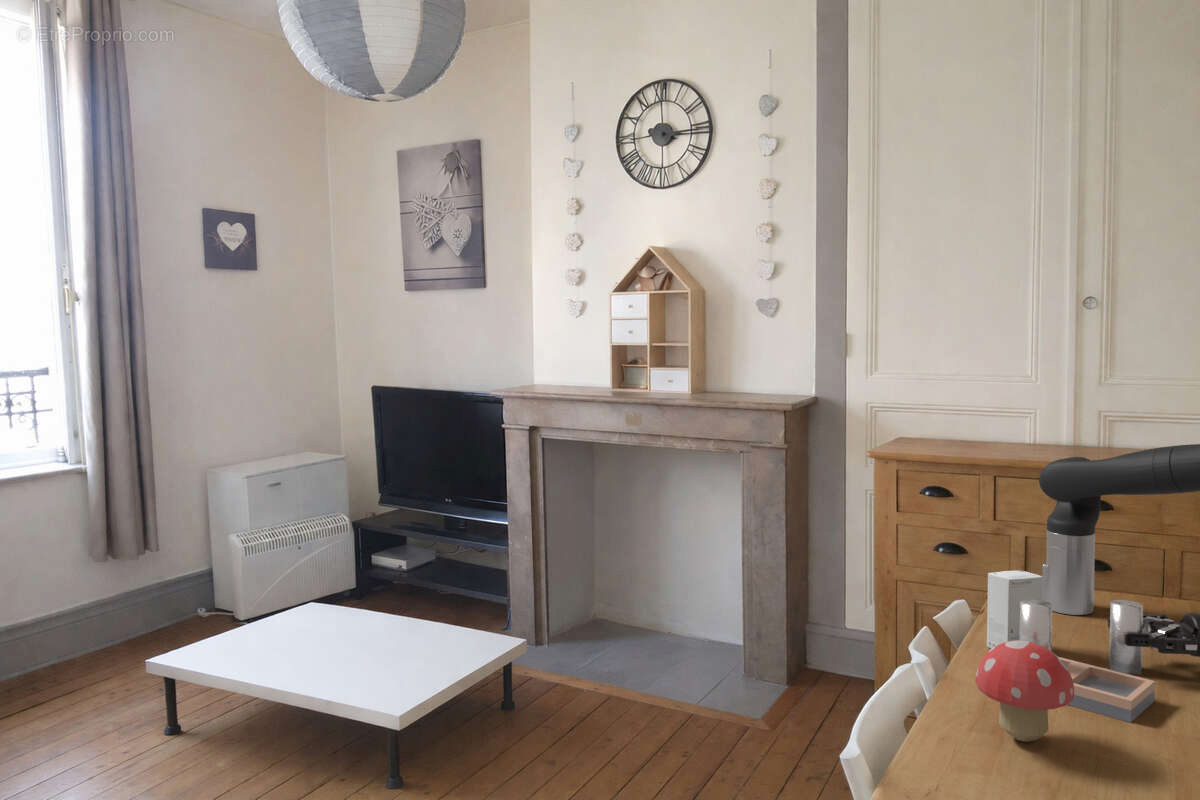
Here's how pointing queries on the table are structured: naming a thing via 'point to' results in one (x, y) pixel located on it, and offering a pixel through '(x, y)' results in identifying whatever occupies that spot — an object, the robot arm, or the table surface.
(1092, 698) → the pink rectangular tray
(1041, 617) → the seated billet
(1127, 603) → the cylinder
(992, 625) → the skincare box
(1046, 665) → the decorative mushroom
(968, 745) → the table surface
